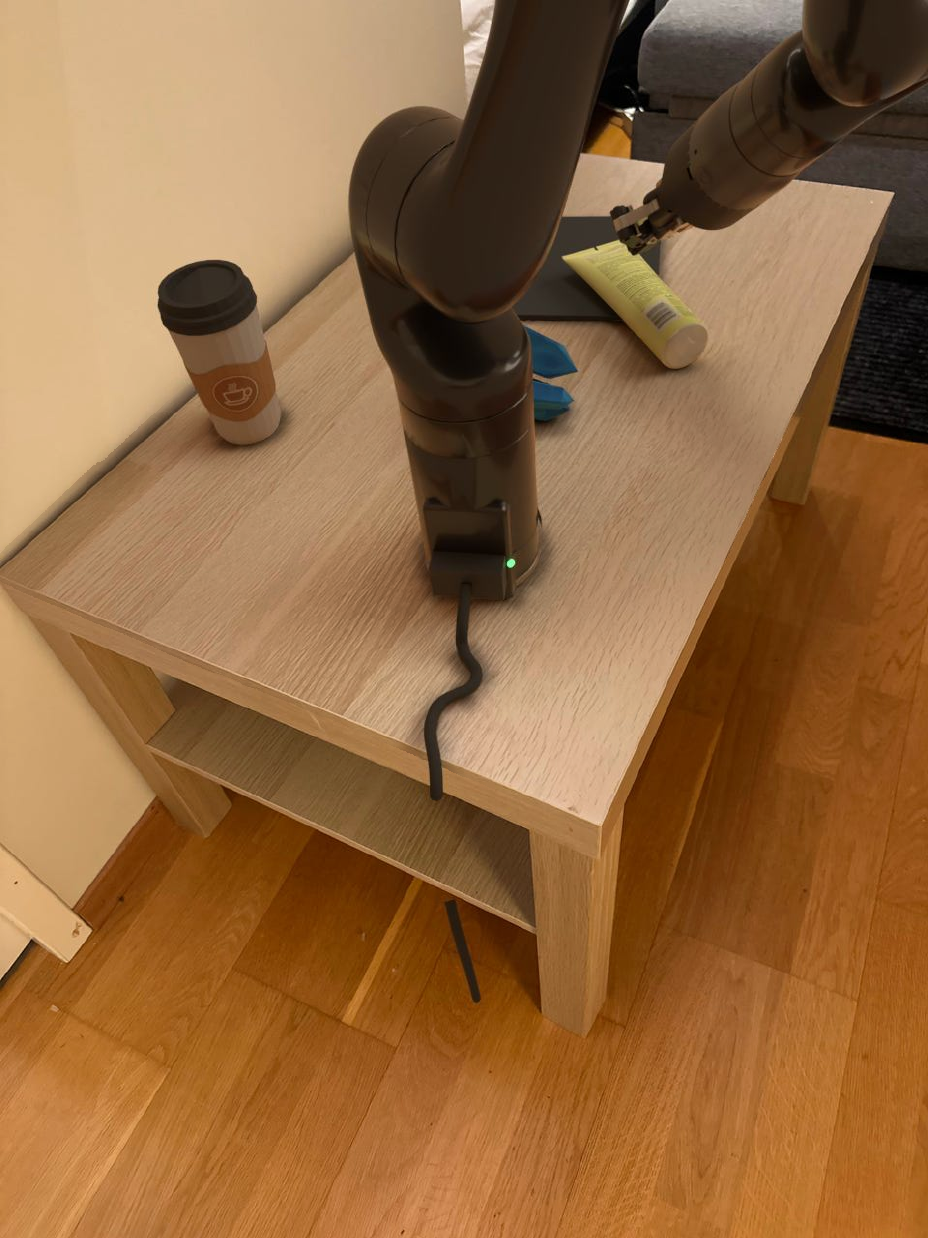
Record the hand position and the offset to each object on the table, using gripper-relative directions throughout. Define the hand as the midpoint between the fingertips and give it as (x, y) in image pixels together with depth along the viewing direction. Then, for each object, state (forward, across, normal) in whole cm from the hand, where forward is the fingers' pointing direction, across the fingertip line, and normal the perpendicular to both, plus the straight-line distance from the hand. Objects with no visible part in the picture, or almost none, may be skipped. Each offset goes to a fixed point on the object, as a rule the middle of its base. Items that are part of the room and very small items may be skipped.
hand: (634, 242), depth 80 cm
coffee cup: (+14, +37, +1) cm, 40 cm away
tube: (+2, -3, +10) cm, 11 cm away
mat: (+19, -1, -4) cm, 20 cm away
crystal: (+6, +13, +10) cm, 17 cm away
